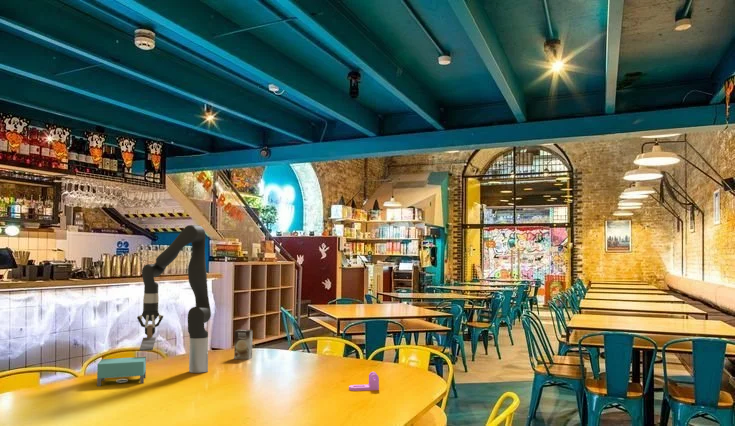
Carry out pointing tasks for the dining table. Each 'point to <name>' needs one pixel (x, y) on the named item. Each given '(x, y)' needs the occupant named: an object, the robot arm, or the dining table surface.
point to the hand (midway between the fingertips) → (149, 334)
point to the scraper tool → (148, 340)
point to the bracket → (371, 386)
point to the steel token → (121, 380)
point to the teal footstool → (121, 368)
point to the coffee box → (243, 344)
